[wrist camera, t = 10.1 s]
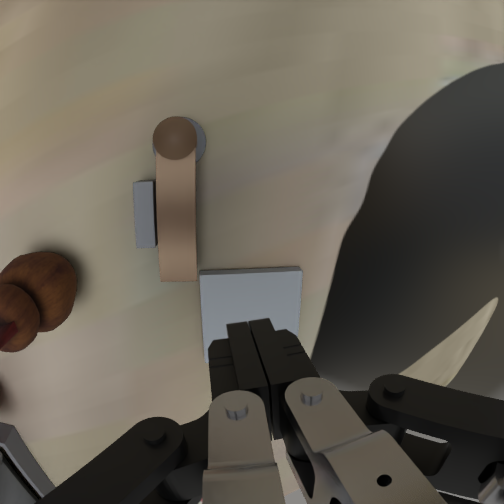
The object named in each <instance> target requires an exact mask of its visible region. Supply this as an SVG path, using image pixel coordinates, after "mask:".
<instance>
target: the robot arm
mask: <svg viewBox="0 0 504 504" xmlns="http://www.w3.org/2000/svg"><path fill="white" fill-rule="evenodd" d="M226 328H227V336H228V338H224V339H217V340H213V341H212V343H211V344H210V346H209V348H208V359H209V371H210V382H211V392H212V403H211V404H210V407H209V410H208V411H207V412H206V413H205V414H204V415H203V416H202V417H200V418H199V419H197V420H194V421H192V422H189V423H186V424H183V425H179V424H178V423H177V422H175V421H174V420H172V419H169V418H165V417H152V418H147V419H145V420H142V421H140V422H138V423H137V424H136V425H134V426H133V427H132V428H131V429H130V430H128V431H127V432H126V433H125V434H124V435H122V436H121V437H120V438H119V439H117V440H116V441H115V442H114V443H113V444H111V445H110V446H109V447H108V448H106V449H105V450H104V451H103V452H101V453H100V454H99V455H98V456H96V457H95V458H94V459H93V460H91V461H90V462H89V463H88V464H86V465H85V466H84V467H82V468H81V469H80V470H79V471H77V472H76V473H75V474H73V475H72V476H71V477H69V478H68V479H67V480H66V481H64V482H63V483H62V484H60V485H59V486H58V487H56V488H55V489H54V490H52V491H51V492H50V493H48V494H47V495H45V496H44V497H43V498H41V499H40V500H39V501H37V502H36V503H34V504H198V503H199V502H200V501H201V499H202V504H285V499H284V494H283V489H282V484H281V479H280V474H279V470H278V466H277V463H275V460H274V455H273V449H272V444H271V441H272V434H273V438H274V440H277V439H282V438H283V440H284V443H285V446H286V458H287V461H288V463H289V465H290V467H291V470H292V472H293V474H294V476H295V478H296V480H297V483H298V485H299V487H300V489H301V491H302V493H303V495H304V497H305V499H306V502H307V504H504V401H503V400H499V399H494V398H489V397H484V396H480V395H476V394H471V393H467V392H463V391H459V390H455V389H451V388H447V387H443V386H439V385H435V384H432V383H428V382H424V381H421V380H417V379H413V378H410V377H406V376H403V375H398V374H388V375H383V376H380V377H378V378H376V379H375V380H374V381H373V382H372V383H371V384H370V387H369V390H368V391H341V390H338V389H337V388H336V386H335V385H334V384H333V383H331V382H330V381H328V380H326V379H322V378H320V376H319V374H318V372H317V371H316V369H315V367H314V365H313V364H312V362H311V360H310V359H309V357H308V355H307V353H305V350H304V348H303V346H301V343H300V341H299V339H298V338H297V336H296V335H295V334H293V333H292V332H290V331H289V330H287V329H282V330H276V331H275V329H274V327H273V325H272V323H271V320H270V318H264V319H257V320H251V321H248V323H247V321H244V322H237V323H230V324H226ZM407 429H409V430H412V431H415V432H419V433H422V434H426V435H429V436H432V437H436V438H440V439H443V440H446V441H448V442H447V443H438V442H434V441H431V440H427V439H424V438H421V437H417V436H414V435H411V434H408V433H406V430H407ZM271 431H272V432H271ZM436 489H437V490H441V491H445V492H449V493H453V494H457V495H461V496H465V497H470V498H474V499H479V502H480V503H479V502H475V501H471V500H467V499H463V498H459V497H456V496H452V495H449V494H445V493H442V492H437V490H436Z"/></svg>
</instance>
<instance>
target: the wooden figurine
mask: <svg viewBox="0 0 504 504" xmlns="http://www.w3.org/2000/svg"><path fill="white" fill-rule="evenodd" d="M76 292H77V277H76V274H75V271H74V268H73V267H72V265H71V264H70V263H69V261H68V260H66V259H65V258H64V257H62V256H61V255H58V254H56V253H49V252H35V253H29V254H25V255H20V256H18V257H17V258H15V259H13V260H12V261H11V262H10V263H9V264H8V265H7V266H6V267H5V268H4V269H3V270H2V272H1V273H0V350H1V351H4V352H17V351H20V350H23V349H25V348H26V347H27V346H28V345H29V344H30V343H31V342H32V341H33V340H34V339H35V337H36V336H37V333H38V332H48V331H52V330H54V329H55V328H57V327H58V326H59V325H61V324H62V323H63V322H64V321H65V320H66V319H67V318H68V316H69V315H70V313H71V311H72V308H73V305H74V300H75V296H76Z"/></svg>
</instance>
